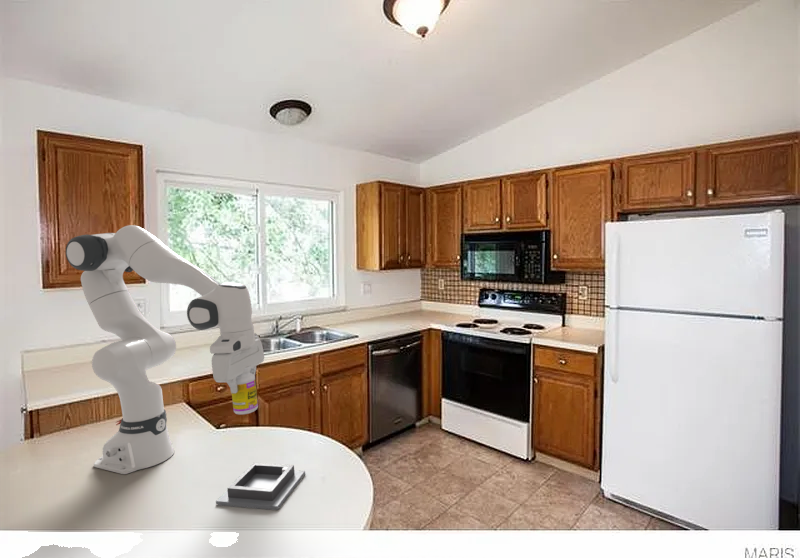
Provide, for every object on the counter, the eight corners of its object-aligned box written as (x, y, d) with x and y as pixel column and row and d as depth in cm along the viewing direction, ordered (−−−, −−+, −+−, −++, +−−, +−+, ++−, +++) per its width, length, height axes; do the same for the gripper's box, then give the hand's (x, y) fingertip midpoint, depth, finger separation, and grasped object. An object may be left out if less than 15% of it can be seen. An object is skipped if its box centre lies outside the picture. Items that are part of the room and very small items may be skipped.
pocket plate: (216, 504, 106) (214, 491, 106) (250, 470, 122) (249, 459, 121) (277, 510, 102) (276, 496, 102) (305, 474, 118) (304, 462, 118)
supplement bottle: (250, 415, 116) (245, 370, 114) (229, 415, 117) (223, 370, 116) (262, 405, 122) (258, 363, 121) (242, 405, 123) (237, 363, 122)
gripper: (248, 331, 128) (252, 375, 130) (205, 349, 108) (211, 400, 110) (266, 331, 127) (271, 375, 128) (227, 348, 107) (232, 400, 108)
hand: (243, 387), depth 119 cm, fingers closed on supplement bottle, 7 cm apart
